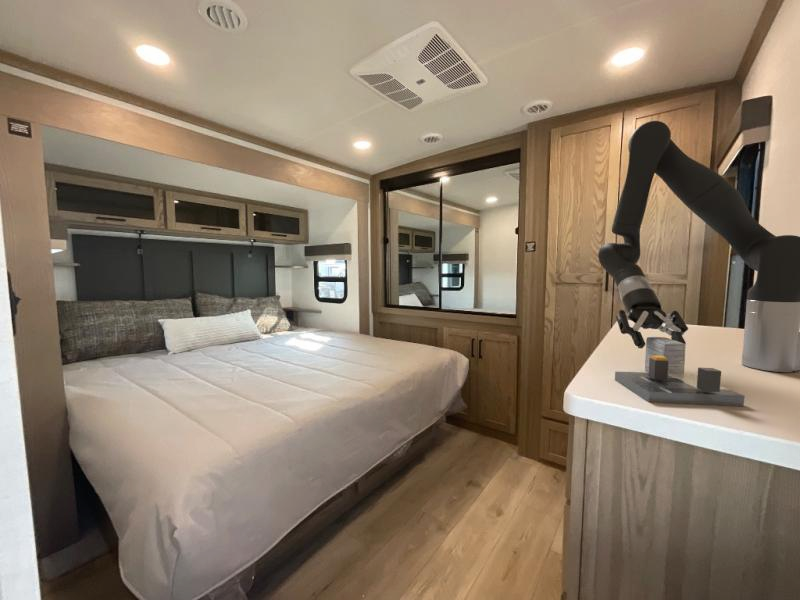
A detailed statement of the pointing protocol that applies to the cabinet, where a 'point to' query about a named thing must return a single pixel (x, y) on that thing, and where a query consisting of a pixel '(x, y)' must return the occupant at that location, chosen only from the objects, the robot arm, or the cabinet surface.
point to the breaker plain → (709, 379)
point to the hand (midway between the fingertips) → (661, 347)
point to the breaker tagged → (658, 367)
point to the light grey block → (666, 353)
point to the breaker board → (676, 389)
